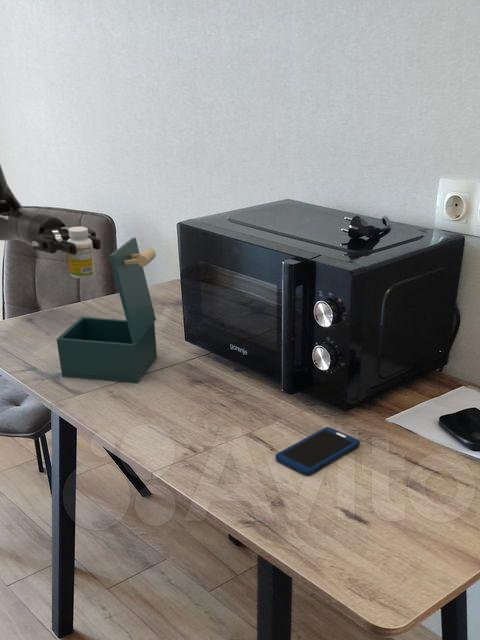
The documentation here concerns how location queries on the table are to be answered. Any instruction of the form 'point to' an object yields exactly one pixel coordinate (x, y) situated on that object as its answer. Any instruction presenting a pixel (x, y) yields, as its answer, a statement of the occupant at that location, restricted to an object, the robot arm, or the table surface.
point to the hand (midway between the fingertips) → (86, 246)
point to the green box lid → (134, 286)
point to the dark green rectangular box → (105, 350)
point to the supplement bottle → (81, 254)
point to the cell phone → (317, 450)
